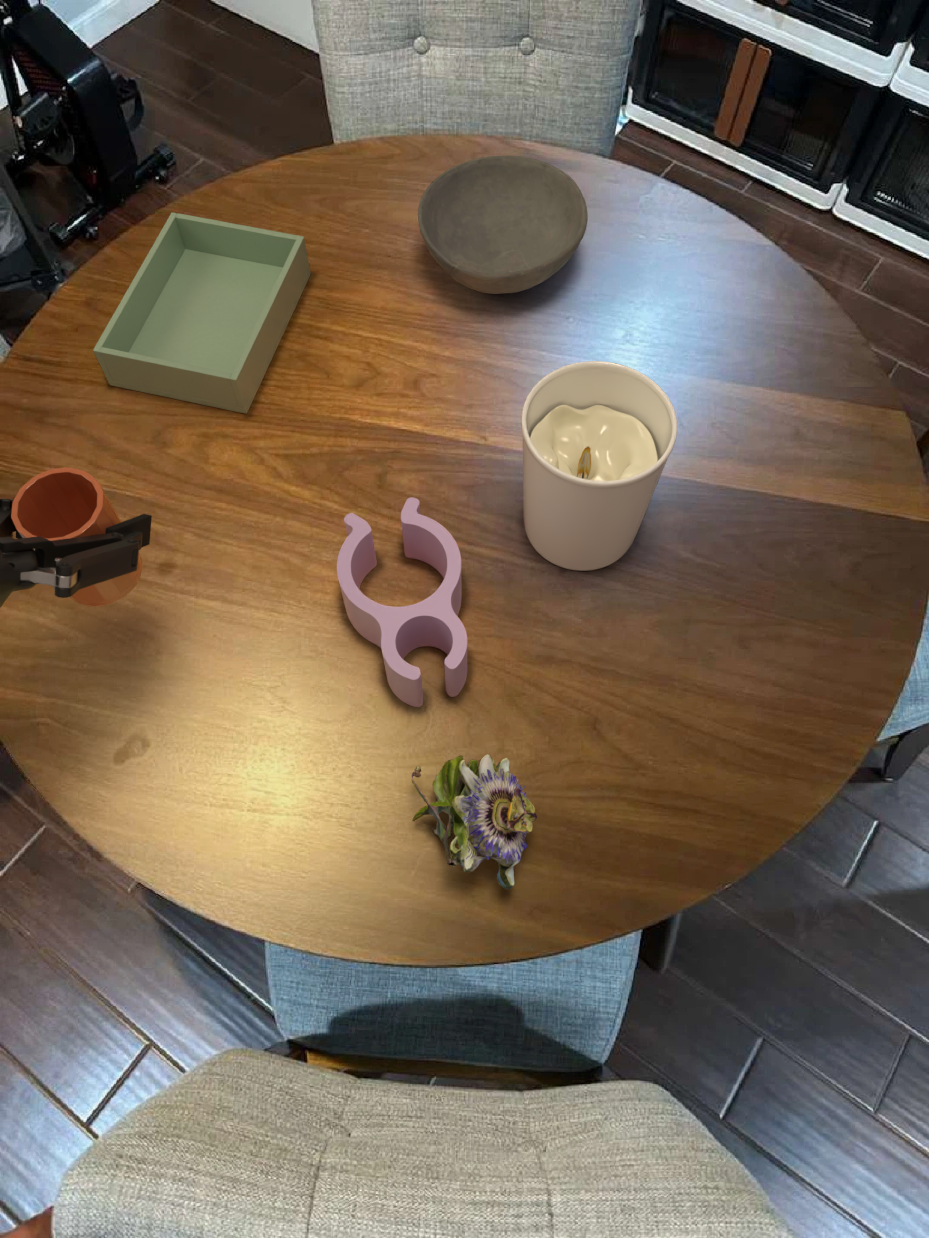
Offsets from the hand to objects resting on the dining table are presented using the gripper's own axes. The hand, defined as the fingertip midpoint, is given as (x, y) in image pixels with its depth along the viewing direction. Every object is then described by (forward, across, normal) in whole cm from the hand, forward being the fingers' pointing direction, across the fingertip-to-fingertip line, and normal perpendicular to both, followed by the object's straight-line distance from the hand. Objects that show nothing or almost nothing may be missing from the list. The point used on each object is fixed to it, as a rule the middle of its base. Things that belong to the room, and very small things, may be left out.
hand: (104, 519), depth 88 cm
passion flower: (+2, +38, -22) cm, 44 cm away
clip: (+16, +26, -8) cm, 32 cm away
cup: (0, 0, -5) cm, 5 cm away
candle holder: (+27, +41, +3) cm, 50 cm away
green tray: (+39, -9, +15) cm, 43 cm away
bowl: (+53, +23, +29) cm, 65 cm away
